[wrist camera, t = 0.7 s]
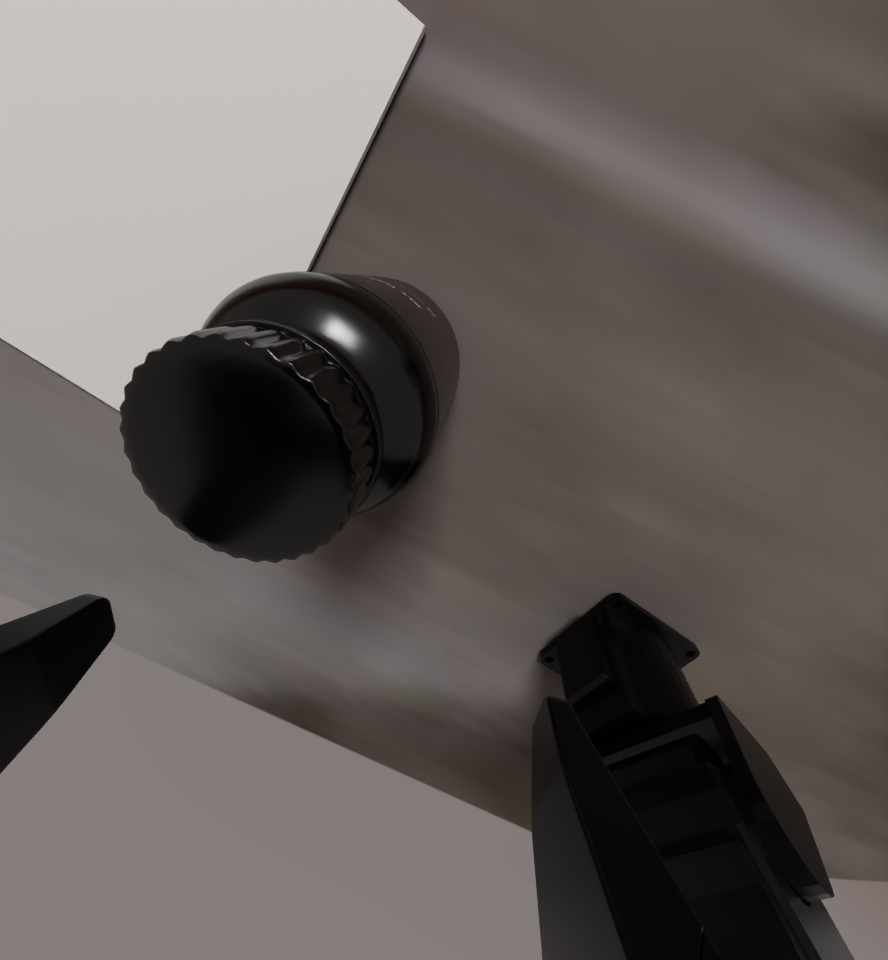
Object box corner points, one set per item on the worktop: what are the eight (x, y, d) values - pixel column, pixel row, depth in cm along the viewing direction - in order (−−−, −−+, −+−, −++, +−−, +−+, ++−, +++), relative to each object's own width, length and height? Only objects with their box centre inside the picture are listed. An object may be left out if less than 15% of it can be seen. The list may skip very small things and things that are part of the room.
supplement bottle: (434, 252, 17) (333, 195, 6) (477, 411, 19) (463, 575, 8) (284, 305, 18) (-17, 337, 7) (344, 446, 21) (187, 625, 10)
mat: (426, 30, 14) (424, 25, 14) (215, 465, 22) (211, 468, 22) (8, -349, 11) (-4, -365, 11) (-57, 298, 19) (-65, 298, 19)
